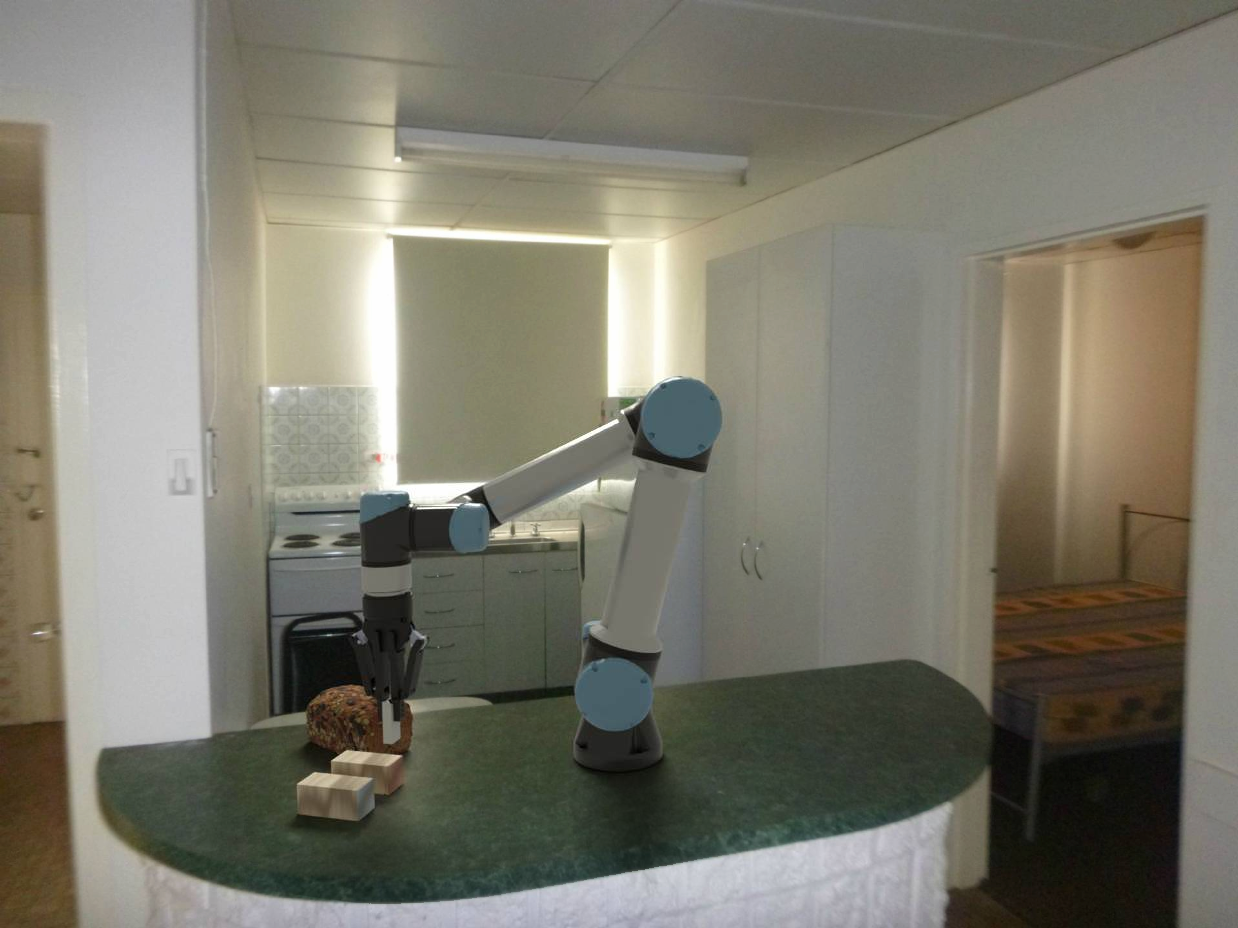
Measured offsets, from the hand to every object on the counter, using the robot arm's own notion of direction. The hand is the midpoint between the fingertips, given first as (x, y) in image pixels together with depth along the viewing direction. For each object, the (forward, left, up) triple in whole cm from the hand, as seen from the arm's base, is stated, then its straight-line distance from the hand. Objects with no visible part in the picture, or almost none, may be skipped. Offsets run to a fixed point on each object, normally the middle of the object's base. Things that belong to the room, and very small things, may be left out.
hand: (392, 740), depth 140 cm
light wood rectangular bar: (-1, +9, -5) cm, 11 cm away
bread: (+15, -15, -8) cm, 23 cm away
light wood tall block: (-1, 0, -5) cm, 5 cm away
